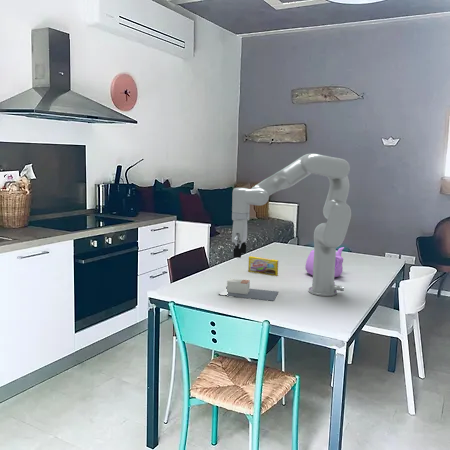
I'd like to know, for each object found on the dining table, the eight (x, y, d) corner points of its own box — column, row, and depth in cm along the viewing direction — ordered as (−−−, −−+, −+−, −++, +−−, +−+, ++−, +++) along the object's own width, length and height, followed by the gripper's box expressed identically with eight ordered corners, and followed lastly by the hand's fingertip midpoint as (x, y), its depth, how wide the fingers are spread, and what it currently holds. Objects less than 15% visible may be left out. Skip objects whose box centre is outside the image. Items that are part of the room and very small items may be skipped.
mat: (278, 292, 207) (278, 291, 207) (273, 301, 194) (273, 300, 194) (226, 287, 213) (226, 286, 213) (218, 295, 200) (218, 294, 200)
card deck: (229, 289, 208) (230, 278, 208) (249, 291, 206) (249, 280, 205) (226, 292, 203) (227, 281, 203) (246, 294, 201) (247, 283, 200)
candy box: (247, 271, 244) (248, 256, 243) (249, 271, 246) (250, 255, 245) (276, 276, 236) (277, 260, 235) (278, 275, 238) (278, 259, 237)
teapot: (329, 283, 226) (331, 253, 224) (300, 273, 243) (301, 245, 241) (360, 277, 238) (363, 249, 236) (330, 269, 256) (332, 242, 253)
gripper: (237, 213, 209) (236, 251, 212) (227, 218, 193) (226, 258, 195) (253, 214, 207) (252, 252, 210) (244, 219, 191) (243, 259, 193)
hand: (239, 255), depth 202 cm, fingers open, 9 cm apart
